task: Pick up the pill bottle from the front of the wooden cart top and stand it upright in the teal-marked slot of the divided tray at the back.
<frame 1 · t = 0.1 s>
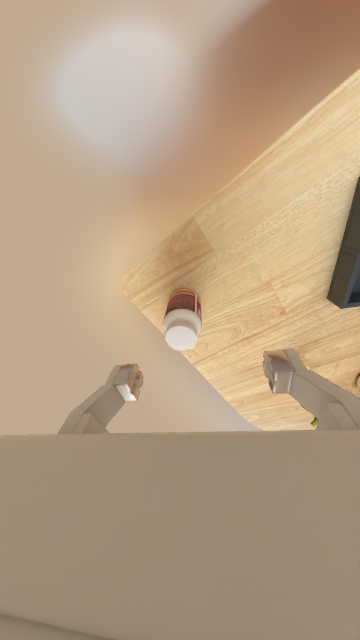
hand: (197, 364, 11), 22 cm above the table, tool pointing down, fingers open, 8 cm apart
pill bottle: (185, 302, 34), on the table
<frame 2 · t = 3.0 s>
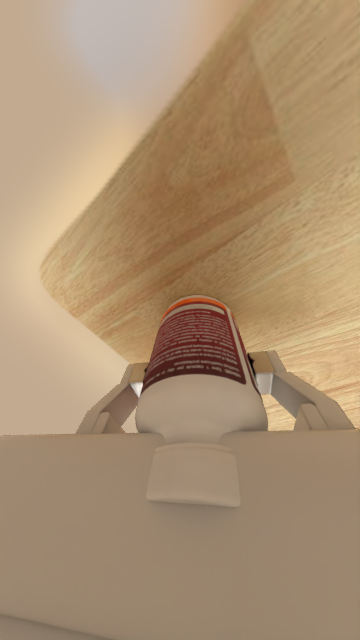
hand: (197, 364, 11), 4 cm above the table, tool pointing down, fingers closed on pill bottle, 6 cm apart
pill bottle: (197, 324, 15), on the table, touching gripper
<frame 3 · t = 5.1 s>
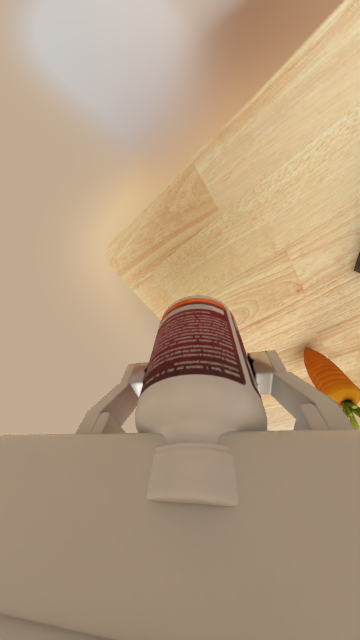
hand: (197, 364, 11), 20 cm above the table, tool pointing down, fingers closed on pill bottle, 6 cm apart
pill bottle: (197, 324, 15), point 15 cm above the table, touching gripper
carrot: (305, 348, 35), on the table
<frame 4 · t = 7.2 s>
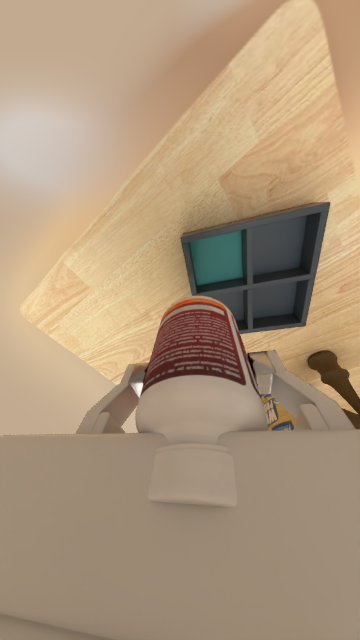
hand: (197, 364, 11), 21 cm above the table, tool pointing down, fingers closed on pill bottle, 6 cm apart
pill bottle: (197, 324, 15), point 16 cm above the table, touching gripper
divided tray: (244, 278, 29), on the table
supplement tub: (280, 391, 44), on the table
kendama: (319, 358, 37), on the table
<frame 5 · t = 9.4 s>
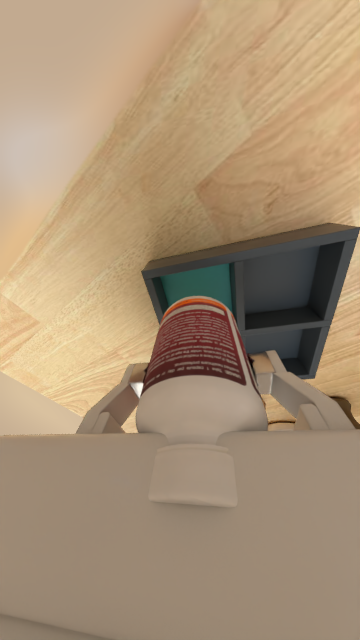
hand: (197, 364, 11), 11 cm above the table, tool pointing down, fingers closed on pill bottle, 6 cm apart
pill bottle: (197, 324, 15), point 7 cm above the table, touching gripper
divided tray: (235, 315, 22), on the table
kendama: (328, 402, 30), on the table
when the fingers open (5 cm above the table, at t = 11.4 s): pill bottle stays where it is, resting on divided tray.
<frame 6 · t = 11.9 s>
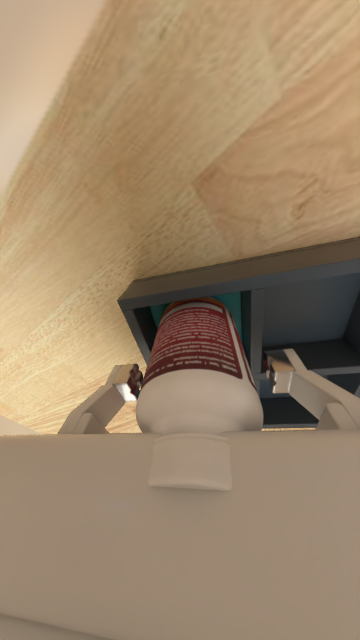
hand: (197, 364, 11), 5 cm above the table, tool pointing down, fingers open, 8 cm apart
pill bottle: (196, 322, 15), point 1 cm above the table, touching divided tray
divided tray: (245, 347, 17), on the table
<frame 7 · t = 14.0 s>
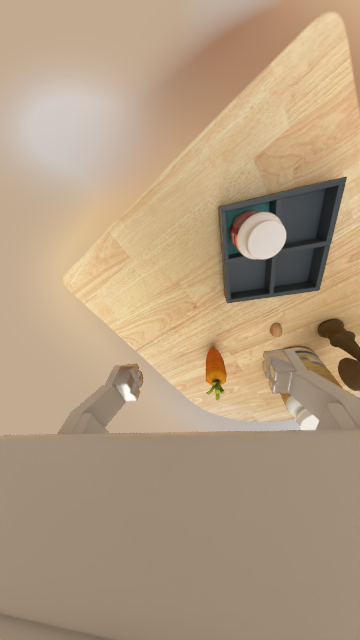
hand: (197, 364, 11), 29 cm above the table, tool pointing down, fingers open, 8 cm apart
pill bottle: (246, 230, 31), point 1 cm above the table, touching divided tray
divided tray: (268, 248, 33), on the table
supplement tub: (290, 360, 49), on the table
carrot: (212, 346, 49), on the table
potato: (275, 328, 44), on the table
kendama: (328, 326, 42), on the table
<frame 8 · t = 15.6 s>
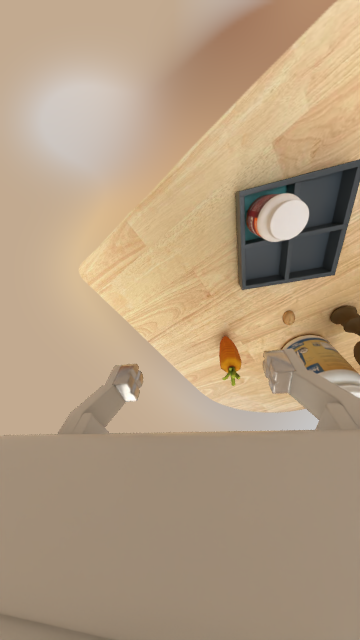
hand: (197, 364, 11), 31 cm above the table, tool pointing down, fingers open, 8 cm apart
pill bottle: (262, 215, 32), point 1 cm above the table, touching divided tray
divided tray: (283, 234, 34), on the table
supplement tub: (302, 349, 49), on the table
carrot: (224, 336, 49), on the table
potato: (287, 316, 44), on the table
kendama: (340, 313, 42), on the table
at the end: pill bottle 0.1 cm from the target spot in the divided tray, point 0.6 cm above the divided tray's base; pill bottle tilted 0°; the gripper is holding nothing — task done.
